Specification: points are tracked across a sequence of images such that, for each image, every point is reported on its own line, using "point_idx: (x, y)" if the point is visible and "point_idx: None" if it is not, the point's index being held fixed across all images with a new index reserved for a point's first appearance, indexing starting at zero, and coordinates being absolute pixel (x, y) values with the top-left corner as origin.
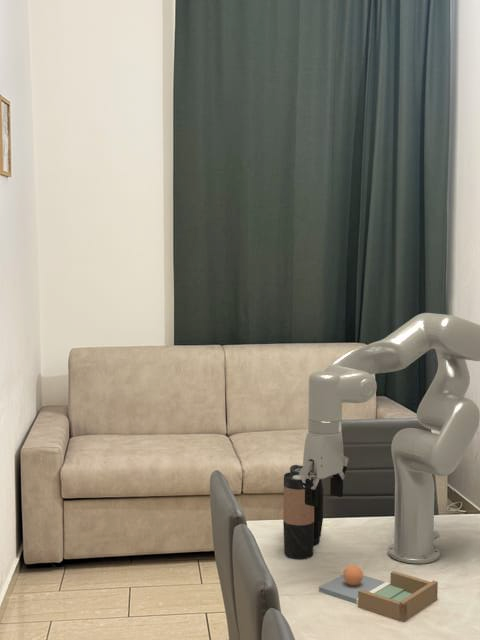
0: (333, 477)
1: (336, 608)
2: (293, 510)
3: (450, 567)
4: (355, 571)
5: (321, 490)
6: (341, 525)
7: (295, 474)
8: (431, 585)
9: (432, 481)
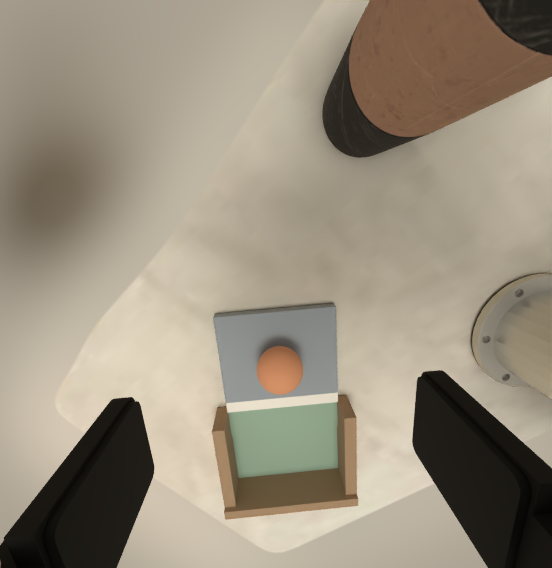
0: (545, 528)
1: (181, 385)
2: (376, 56)
3: (501, 414)
4: (270, 392)
5: None
6: None
7: None
8: (333, 507)
9: None
